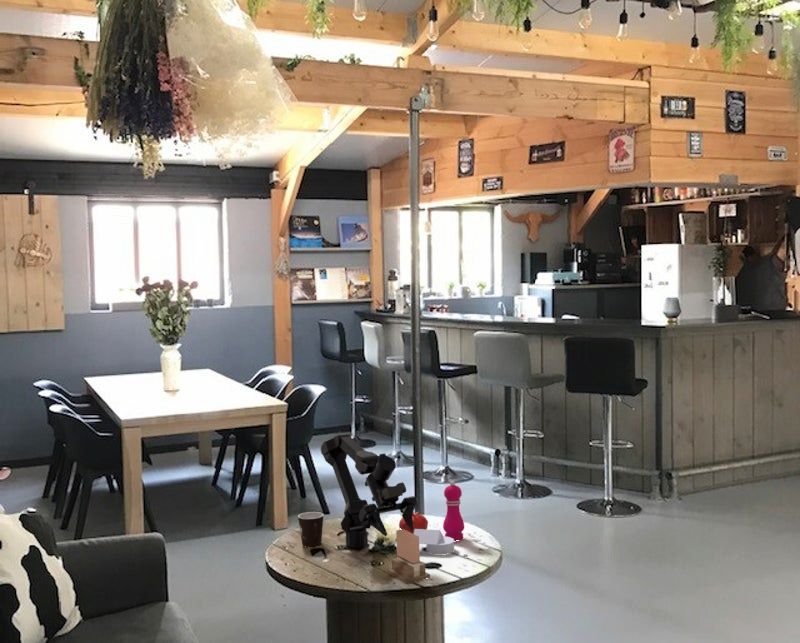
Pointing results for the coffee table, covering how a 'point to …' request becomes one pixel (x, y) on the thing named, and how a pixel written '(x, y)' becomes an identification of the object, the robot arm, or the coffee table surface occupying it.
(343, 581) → the coffee table surface
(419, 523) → the pomegranate
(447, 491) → the pepper mill
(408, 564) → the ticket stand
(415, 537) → the peach rectangular panel
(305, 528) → the coffee mug
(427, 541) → the wedge on round base
